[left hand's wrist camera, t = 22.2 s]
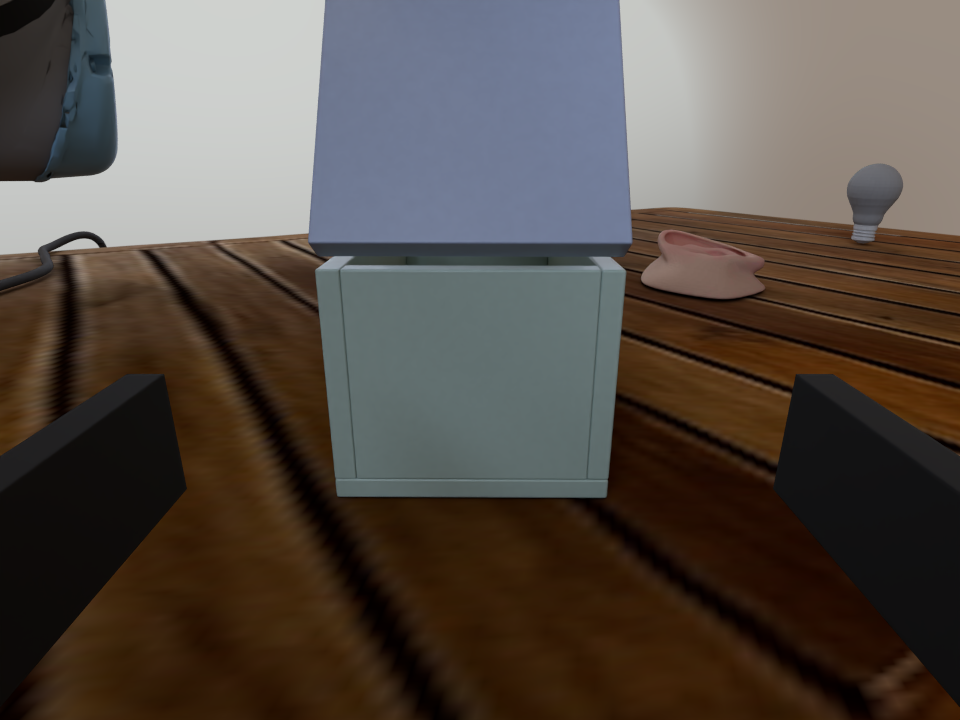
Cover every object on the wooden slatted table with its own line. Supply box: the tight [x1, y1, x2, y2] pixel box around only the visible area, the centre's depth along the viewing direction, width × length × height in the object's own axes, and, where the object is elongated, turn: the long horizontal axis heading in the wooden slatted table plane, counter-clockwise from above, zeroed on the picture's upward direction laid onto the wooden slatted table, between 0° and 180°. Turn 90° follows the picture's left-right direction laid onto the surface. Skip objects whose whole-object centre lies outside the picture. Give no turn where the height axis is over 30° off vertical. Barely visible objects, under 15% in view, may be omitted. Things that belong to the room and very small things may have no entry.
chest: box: [315, 256, 626, 498], centre depth 28 cm, size 17×10×9 cm, turn 0°
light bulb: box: [847, 164, 903, 243], centre depth 76 cm, size 6×6×10 cm
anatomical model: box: [641, 230, 765, 299], centre depth 55 cm, size 13×4×12 cm
